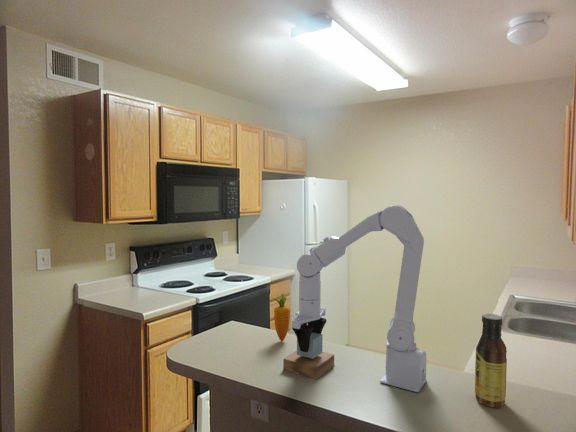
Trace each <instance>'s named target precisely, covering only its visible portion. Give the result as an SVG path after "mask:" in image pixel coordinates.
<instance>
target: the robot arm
mask: <svg viewBox="0 0 576 432" xmlns="http://www.w3.org/2000/svg"><path fill="white" fill-rule="evenodd" d="M383 230H386V231H387V232H389V233H391V234H392V235H394V236H395V237H396V238H397V239H398V241H399V242H401V244H402V245H403V250H402V251H403V252H402V259H401V267H400V273H399V281H398V288H397V294H396V295H397V296H396V302H395V308H394V314H393V317H392V318H391V319H390V321H389V329H388V331H387V334H386V340H387V341H386V349H385V350H386V351H385V356H386V357H385V374H384V375H383V376H382V378H381V379H380V380H379V382H380V383H381V384H386V385H387V386H388V385H389V386H391V387H395V388H400V389H404V390H407V391H411V392H414V393H419V392H420V391H421V390H422V388H423V386H424V385H425V383H426V382H427V380H428V379H427V352H426V351H425V350H423V349H421V348H419V347H417V344H416V342H415V331H416V326H415V323H414V322H415V321H414V314H415V306H416V298H417V292H418V285H419V278H420V272H421V266H422V265H421V264H422V258H423V251H424V243H425V239H424V236H423V234H422V232H421V230H420V229H419V227H418V225H417V223H416V220H415V218H414V217H413V214H412V213H411V212H409V211H408V210H407V209H406V208H405V207H403V206H401V205H399V204H393V205H389V206H387V207H385V208H384V209H383V210H380V211H377V212H376V213H374V214H372V215H369V216H367V217H366V218H364V219H363V220H362V221H360V222H358V224H356V225H355V226H353V227H352V228H351V229H348V230H347V231H346V232H345V233H343V234H342V235H341V236H334V235H331V236H330V237H329V236H325V238H323V242H321V243H320V244H318V245H317V246H316V247H311V248H309V250H308V251H309V252H308V253H304V254H302V255H301V256H300V257H299V258H298V260H297V262H296V269H297V271H298V274H299V281H298V282H299V283H298V290H299V291H298V311H296V312H295V315H296V317H295V318H294V319H292V320H291V329H292V331H293V333H294V335H295V336H296V341H297V340H298V343H299V348H300V351H303V352H308V349H309V342H310V336H311V333H312V332H313V333H318V334H322V332H323V330H324V327H325V325H326V323H327V318H324V316H326V311H327V309H326V308H324V307H321V291H322V290H321V289H322V287H321V285H322V284H321V283H322V281H321V271H322V269H323V268H326V267H329V265H331V264H333V263H334V262H335V261H337V260H338V259H340V258H342V257H343V256H345V254H346V249H347V247H349V246H350V245H352V244H353V243H355V242H357V241H358V240H360V239H361V238H362V237H364V236H366V235H368V234H369V233H371V232H381V231H383Z"/></svg>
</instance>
